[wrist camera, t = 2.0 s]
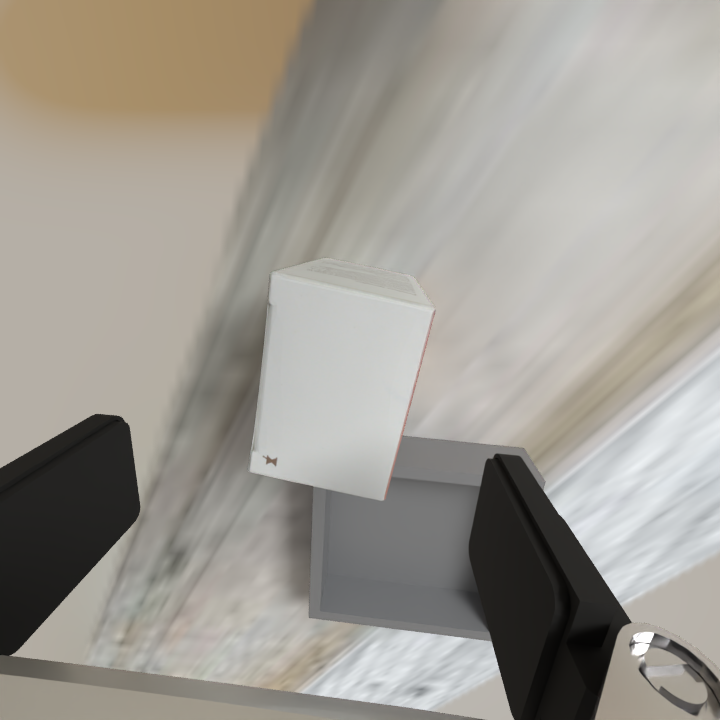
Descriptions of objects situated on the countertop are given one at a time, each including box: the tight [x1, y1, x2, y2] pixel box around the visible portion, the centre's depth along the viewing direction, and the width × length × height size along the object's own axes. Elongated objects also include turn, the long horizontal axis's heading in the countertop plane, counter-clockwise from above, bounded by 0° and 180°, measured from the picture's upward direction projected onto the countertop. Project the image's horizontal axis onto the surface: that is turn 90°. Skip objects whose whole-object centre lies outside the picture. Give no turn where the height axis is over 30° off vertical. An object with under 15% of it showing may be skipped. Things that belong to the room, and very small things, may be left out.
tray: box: [309, 436, 545, 641], centre depth 25 cm, size 14×14×4 cm
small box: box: [248, 258, 436, 501], centre depth 18 cm, size 8×6×10 cm
